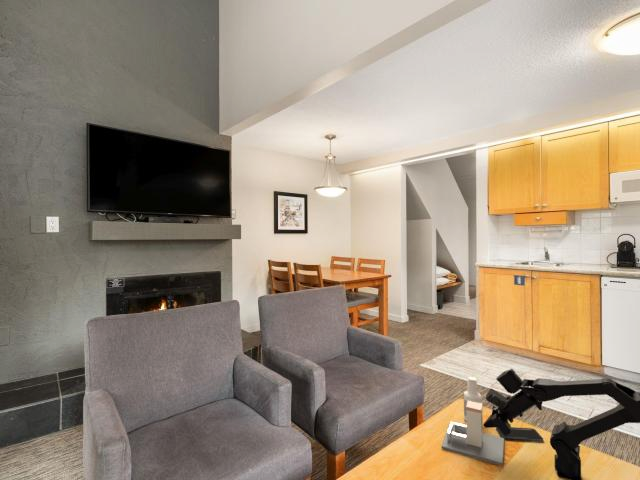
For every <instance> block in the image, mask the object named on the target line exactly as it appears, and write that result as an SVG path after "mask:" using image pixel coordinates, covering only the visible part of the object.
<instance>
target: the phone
mask: <svg viewBox="0 0 640 480" xmlns="http://www.w3.org/2000/svg"><path fill="white" fill-rule="evenodd" d="M495 430H496V432H497V433H498V435H499V437H501V438H504V441H514V442H515V441H516V442H531V441H535V442H537V443H543V442H544V437H542V435H540V433H539V432H538V431H537V430H536V429H535V428H531V427H512V426H511V434H509V435H508V436H505V435H504V434H503V433H502V432H501V431H500V430H499V429H498V428H495ZM535 442H534V443H535Z"/></svg>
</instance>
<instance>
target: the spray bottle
mask: <svg viewBox="0 0 640 480" xmlns="http://www.w3.org/2000/svg"><path fill="white" fill-rule="evenodd" d="M477 381H478V379H477V377H474V376H468V377H467V390H465V391H464V392H463V419H464V421H466V422H467V418H466V405H467V402H468V401H472V402H476V403H481V404H482V395H481V394H480V393H479V392H478V382H477Z"/></svg>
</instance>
